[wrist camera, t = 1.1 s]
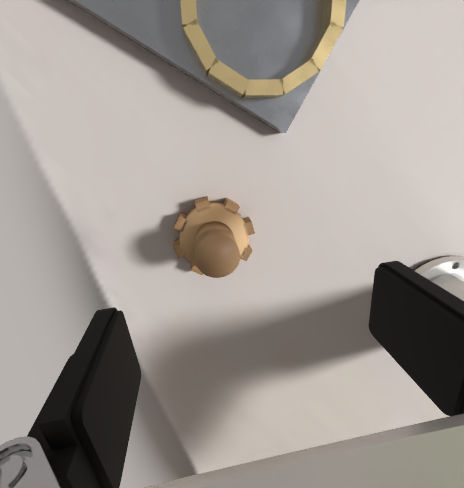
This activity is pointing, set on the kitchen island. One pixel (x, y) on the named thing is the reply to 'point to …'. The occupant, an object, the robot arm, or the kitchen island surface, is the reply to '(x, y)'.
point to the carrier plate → (237, 45)
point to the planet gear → (213, 237)
